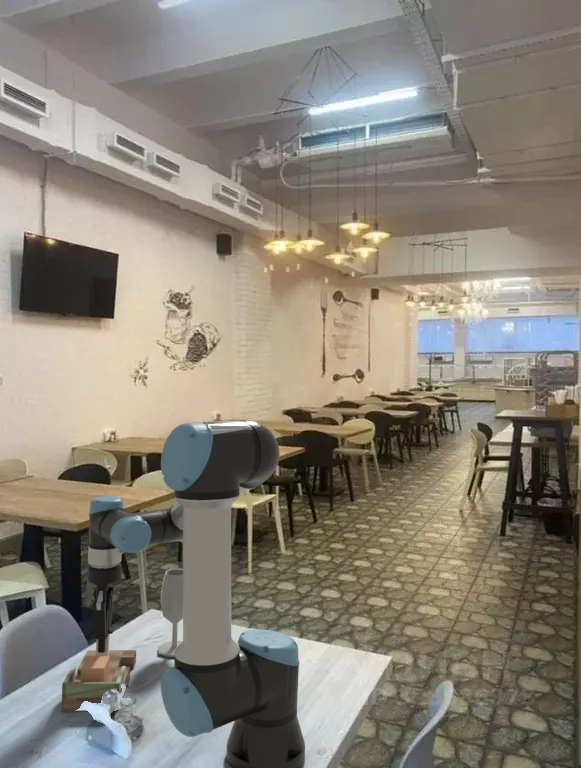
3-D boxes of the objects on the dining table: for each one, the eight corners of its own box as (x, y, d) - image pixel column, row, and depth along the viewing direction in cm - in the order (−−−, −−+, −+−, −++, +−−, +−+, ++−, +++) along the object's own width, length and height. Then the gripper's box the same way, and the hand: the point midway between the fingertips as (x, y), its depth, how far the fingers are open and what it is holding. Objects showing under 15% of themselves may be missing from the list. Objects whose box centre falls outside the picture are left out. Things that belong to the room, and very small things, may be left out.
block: (103, 690, 137) (104, 668, 137) (80, 691, 136) (80, 668, 136) (109, 677, 143) (109, 655, 142) (86, 677, 142) (87, 656, 142)
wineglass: (194, 645, 168) (196, 567, 168) (186, 659, 159) (188, 578, 159) (163, 642, 169) (165, 565, 168) (153, 657, 160) (155, 576, 160)
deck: (118, 710, 134) (119, 683, 134) (61, 711, 133) (62, 684, 133) (135, 661, 157) (136, 638, 157) (87, 662, 156) (87, 638, 156)
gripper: (116, 572, 139) (113, 676, 140) (126, 555, 152) (123, 651, 153) (81, 572, 139) (79, 677, 139) (94, 555, 152) (92, 651, 152)
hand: (102, 663), depth 146 cm, fingers closed
